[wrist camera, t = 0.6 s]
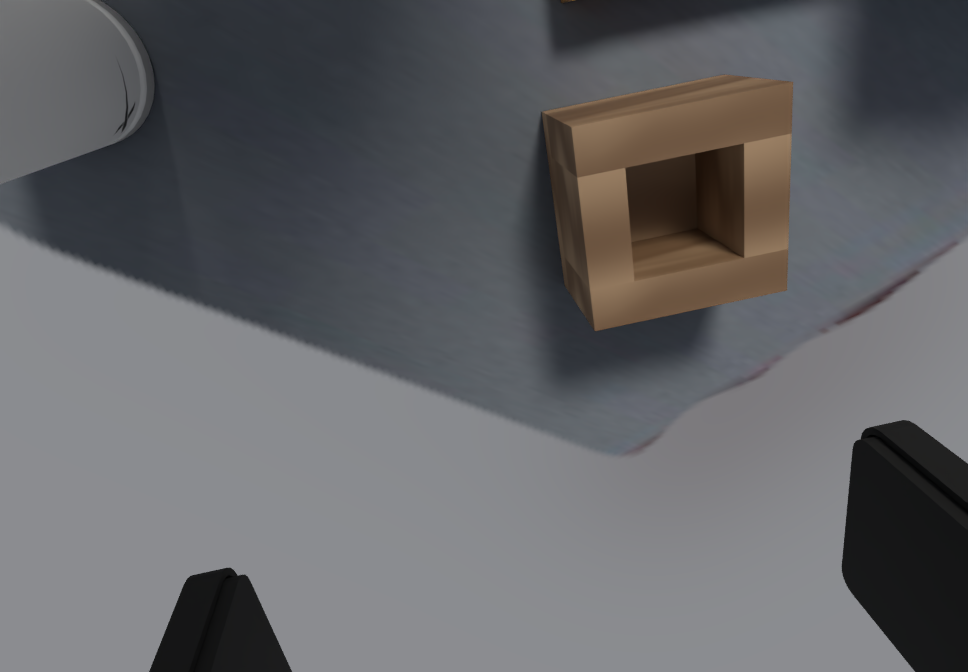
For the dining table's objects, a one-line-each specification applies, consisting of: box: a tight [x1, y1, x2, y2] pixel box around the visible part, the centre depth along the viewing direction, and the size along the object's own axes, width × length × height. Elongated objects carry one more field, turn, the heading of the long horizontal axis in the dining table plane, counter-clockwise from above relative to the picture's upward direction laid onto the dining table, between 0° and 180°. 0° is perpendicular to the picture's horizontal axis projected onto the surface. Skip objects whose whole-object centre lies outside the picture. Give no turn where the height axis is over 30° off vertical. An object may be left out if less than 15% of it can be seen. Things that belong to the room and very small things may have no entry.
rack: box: [542, 75, 793, 331], centre depth 30 cm, size 9×9×6 cm
